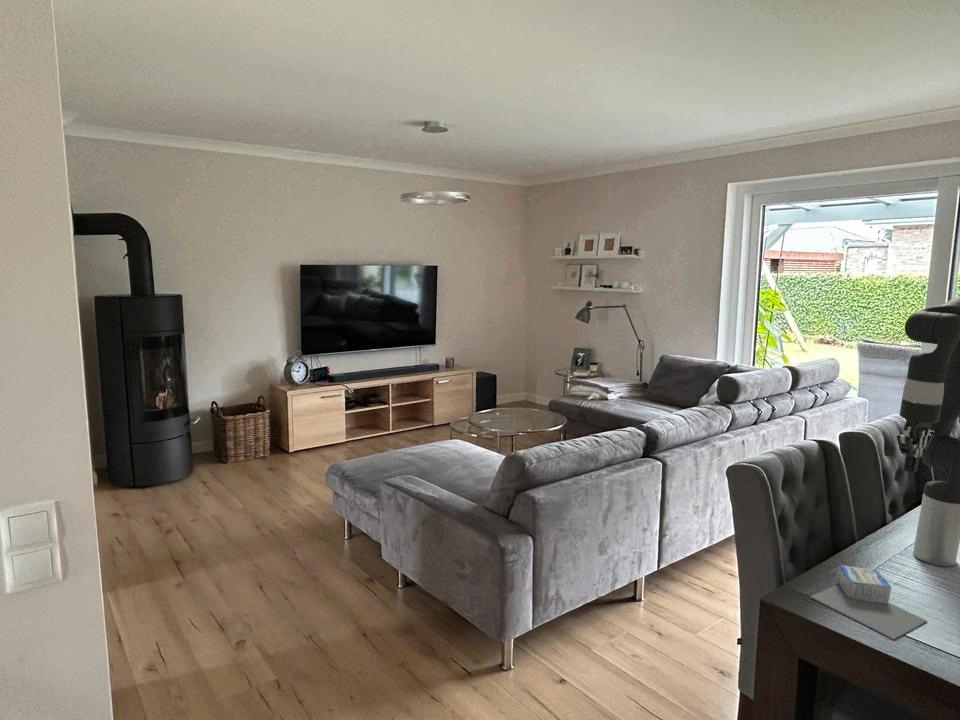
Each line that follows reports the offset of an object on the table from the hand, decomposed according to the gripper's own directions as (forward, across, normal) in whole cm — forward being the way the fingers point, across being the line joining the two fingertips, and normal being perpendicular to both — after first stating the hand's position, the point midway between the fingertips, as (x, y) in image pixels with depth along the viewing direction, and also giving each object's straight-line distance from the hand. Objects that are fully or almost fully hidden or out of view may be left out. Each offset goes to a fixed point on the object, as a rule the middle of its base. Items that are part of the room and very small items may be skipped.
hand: (910, 471), depth 145 cm
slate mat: (+29, +17, +3) cm, 33 cm away
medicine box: (+26, +7, +2) cm, 28 cm away
